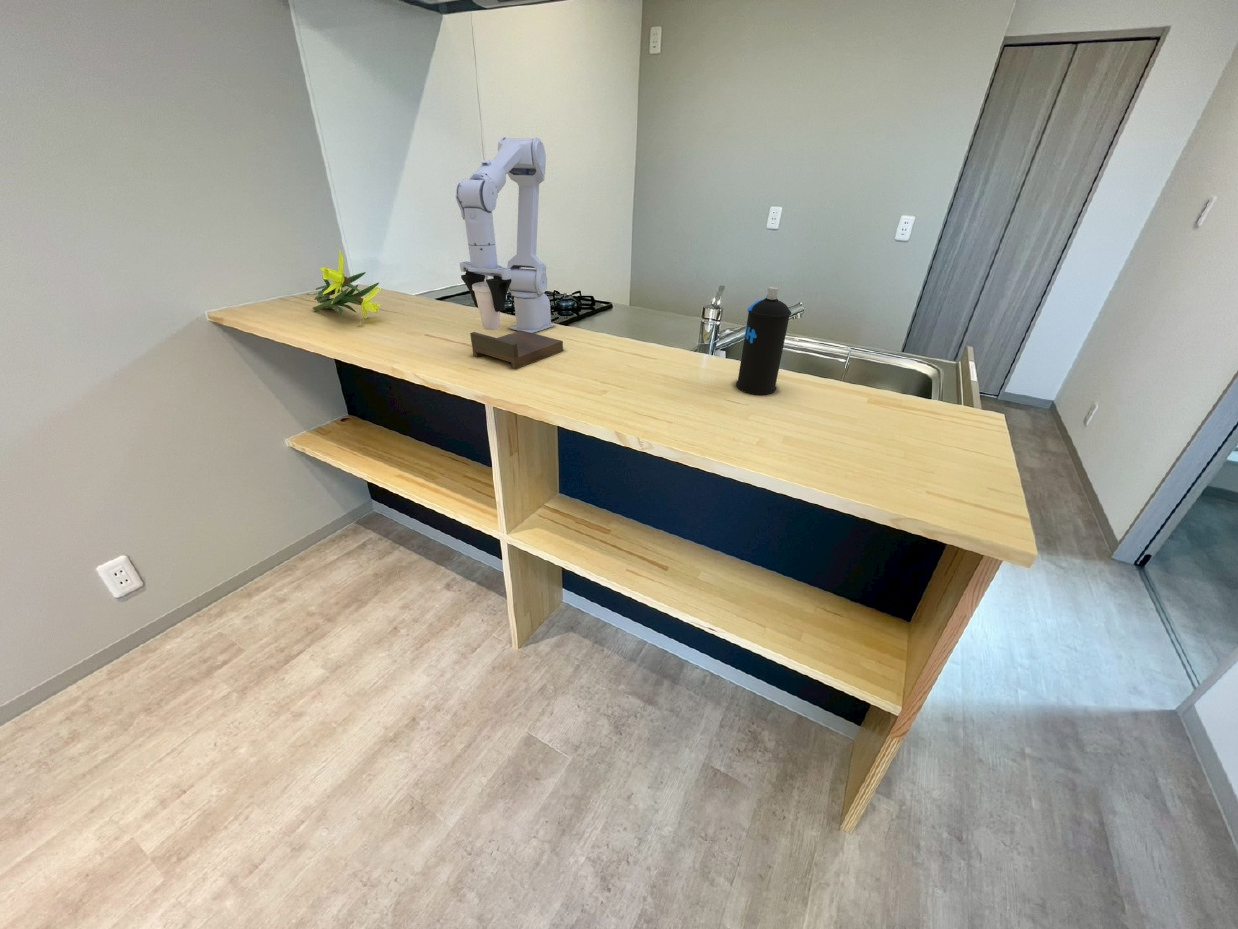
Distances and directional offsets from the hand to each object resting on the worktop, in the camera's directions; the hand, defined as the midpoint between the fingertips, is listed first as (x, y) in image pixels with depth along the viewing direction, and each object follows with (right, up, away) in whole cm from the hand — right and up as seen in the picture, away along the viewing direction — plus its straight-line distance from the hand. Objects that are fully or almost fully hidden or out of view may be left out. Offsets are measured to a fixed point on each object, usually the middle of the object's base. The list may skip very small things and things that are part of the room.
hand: (489, 308), depth 112 cm
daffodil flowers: (-49, +6, +28) cm, 57 cm away
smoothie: (0, -4, +2) cm, 5 cm away
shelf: (+6, -9, +5) cm, 12 cm away
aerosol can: (+58, -20, -10) cm, 62 cm away
